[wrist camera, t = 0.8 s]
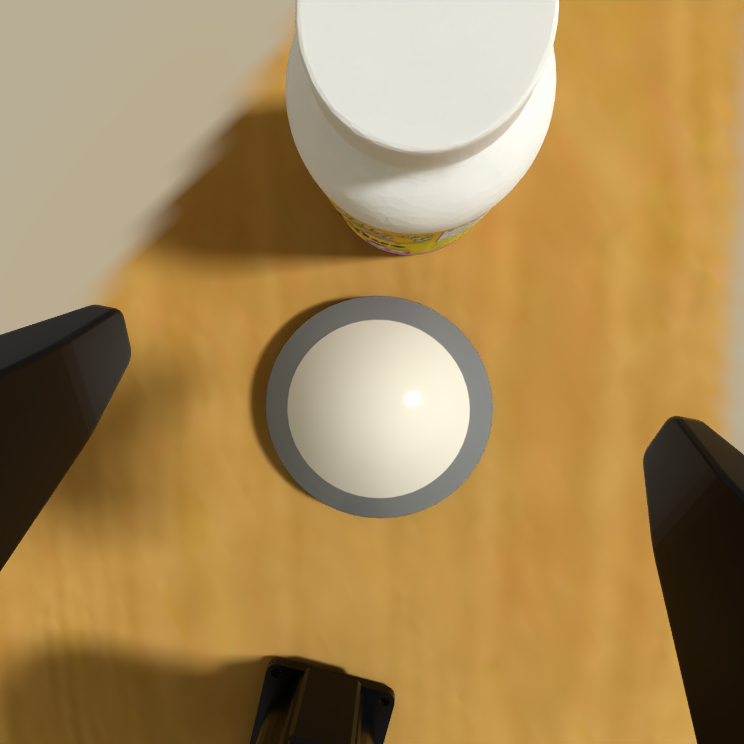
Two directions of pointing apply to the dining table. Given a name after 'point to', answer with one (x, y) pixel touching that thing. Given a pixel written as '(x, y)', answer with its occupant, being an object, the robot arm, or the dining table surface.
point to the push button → (379, 407)
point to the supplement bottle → (420, 109)
